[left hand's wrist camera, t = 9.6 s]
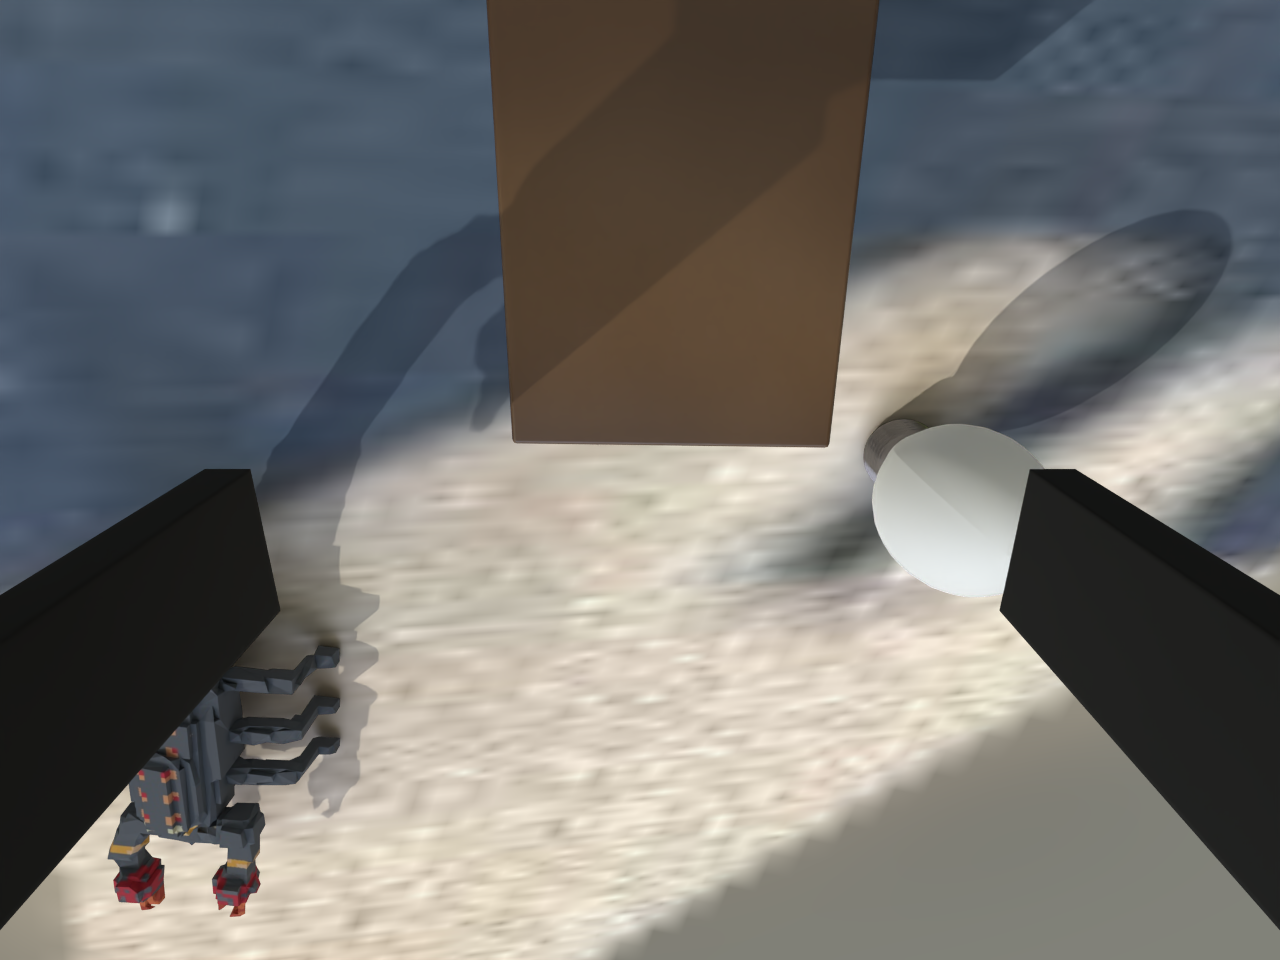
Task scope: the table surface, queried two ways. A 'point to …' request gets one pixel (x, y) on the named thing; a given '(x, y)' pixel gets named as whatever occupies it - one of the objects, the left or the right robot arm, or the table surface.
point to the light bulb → (948, 502)
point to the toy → (216, 783)
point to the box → (677, 214)
